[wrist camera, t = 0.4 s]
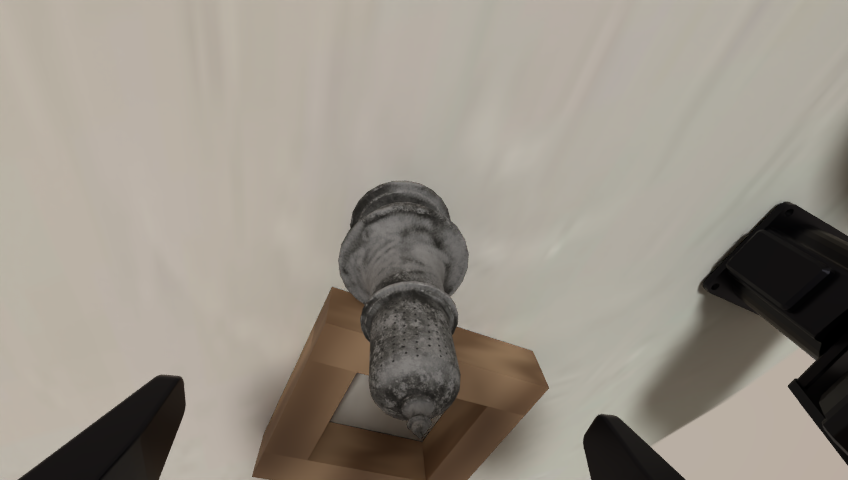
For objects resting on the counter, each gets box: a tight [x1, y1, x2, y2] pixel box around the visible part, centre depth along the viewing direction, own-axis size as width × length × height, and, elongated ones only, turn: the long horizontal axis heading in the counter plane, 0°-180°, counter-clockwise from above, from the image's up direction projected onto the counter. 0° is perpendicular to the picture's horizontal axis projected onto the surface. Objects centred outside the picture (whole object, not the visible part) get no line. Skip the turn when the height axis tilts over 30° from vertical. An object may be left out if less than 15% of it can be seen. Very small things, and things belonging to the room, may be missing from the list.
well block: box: [252, 287, 549, 480], centre depth 26 cm, size 14×14×3 cm
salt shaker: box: [338, 181, 469, 438], centre depth 16 cm, size 6×6×12 cm
